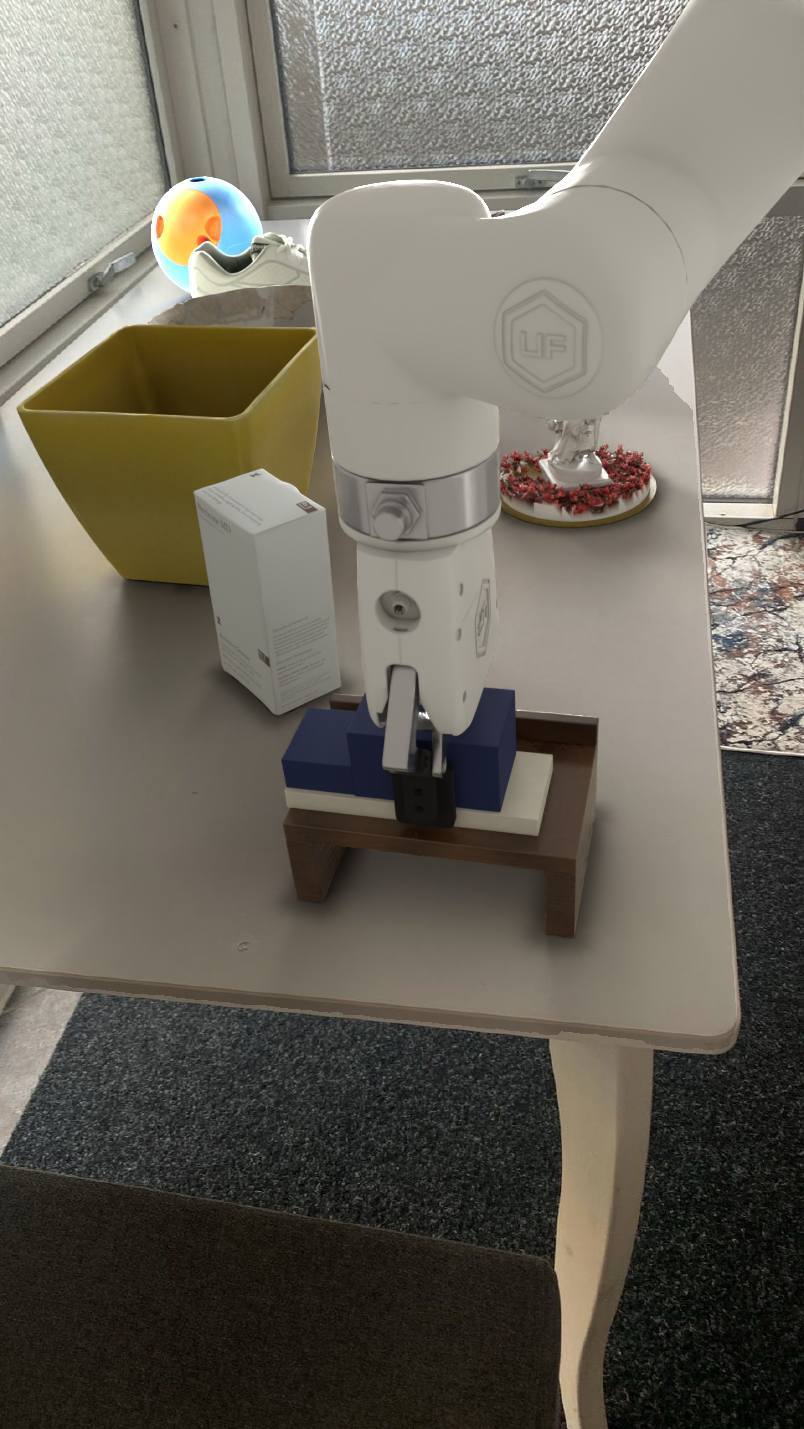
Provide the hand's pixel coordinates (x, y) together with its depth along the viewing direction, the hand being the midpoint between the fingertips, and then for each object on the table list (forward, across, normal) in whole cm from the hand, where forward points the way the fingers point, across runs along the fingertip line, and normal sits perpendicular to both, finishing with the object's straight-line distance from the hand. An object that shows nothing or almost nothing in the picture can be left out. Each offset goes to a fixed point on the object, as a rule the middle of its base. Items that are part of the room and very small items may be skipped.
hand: (439, 781), depth 62 cm
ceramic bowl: (+7, +68, +36) cm, 77 cm away
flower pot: (+7, +35, +29) cm, 46 cm away
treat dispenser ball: (+7, +108, +58) cm, 123 cm away
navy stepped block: (+1, 0, +1) cm, 1 cm away
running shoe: (+7, +92, +39) cm, 100 cm away
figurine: (+7, +50, -1) cm, 50 cm away
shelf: (+7, +1, 0) cm, 7 cm away
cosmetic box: (+7, +17, +16) cm, 24 cm away
